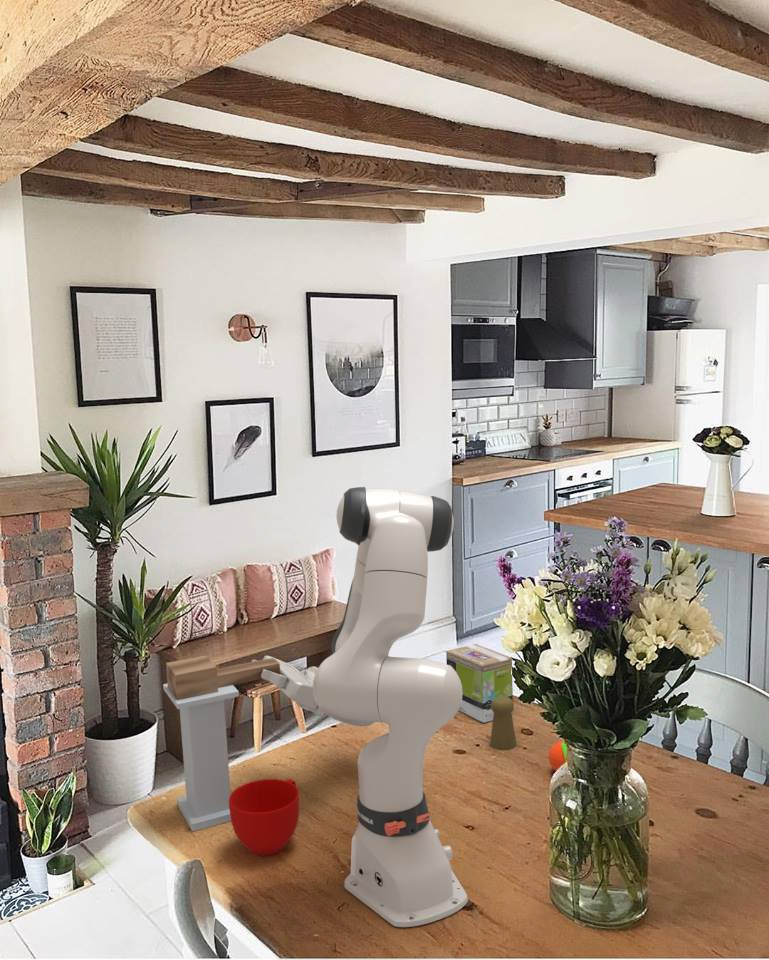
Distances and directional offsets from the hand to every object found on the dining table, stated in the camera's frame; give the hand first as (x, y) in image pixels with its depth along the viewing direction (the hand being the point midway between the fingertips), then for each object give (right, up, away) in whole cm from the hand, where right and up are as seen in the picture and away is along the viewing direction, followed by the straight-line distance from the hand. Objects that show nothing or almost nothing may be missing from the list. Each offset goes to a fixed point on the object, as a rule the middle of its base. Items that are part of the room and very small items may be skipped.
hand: (256, 668), depth 181 cm
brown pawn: (+53, -23, +24) cm, 63 cm away
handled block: (-6, -2, -3) cm, 7 cm away
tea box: (+50, -20, +44) cm, 70 cm away
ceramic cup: (+5, -30, -13) cm, 33 cm away
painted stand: (-9, -29, -1) cm, 30 cm away
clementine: (+64, -24, +8) cm, 69 cm away
